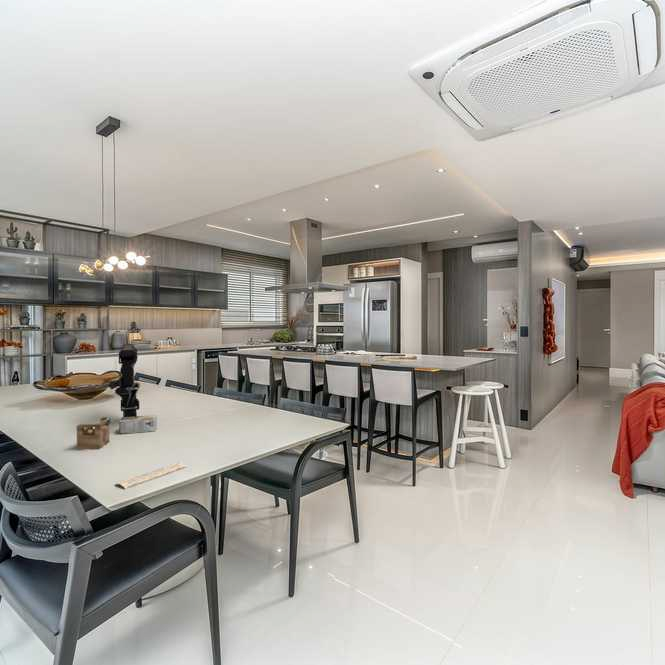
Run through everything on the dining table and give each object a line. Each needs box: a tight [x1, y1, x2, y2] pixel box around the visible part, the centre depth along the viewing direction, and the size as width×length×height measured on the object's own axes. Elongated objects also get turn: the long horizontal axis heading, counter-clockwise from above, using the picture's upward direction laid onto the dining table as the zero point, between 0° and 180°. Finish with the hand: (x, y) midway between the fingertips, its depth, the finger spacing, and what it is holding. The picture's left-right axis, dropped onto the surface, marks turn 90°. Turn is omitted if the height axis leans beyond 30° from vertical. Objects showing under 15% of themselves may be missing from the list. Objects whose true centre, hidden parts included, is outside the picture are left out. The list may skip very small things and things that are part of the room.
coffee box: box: [118, 414, 158, 435], centre depth 202 cm, size 9×6×16 cm
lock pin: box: [86, 416, 112, 435], centre depth 181 cm, size 17×4×4 cm, turn 9°
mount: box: [76, 423, 110, 451], centre depth 177 cm, size 10×9×10 cm
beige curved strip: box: [114, 462, 188, 490], centre depth 142 cm, size 24×7×2 cm, turn 147°
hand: (128, 404), depth 206 cm, fingers open, 8 cm apart
